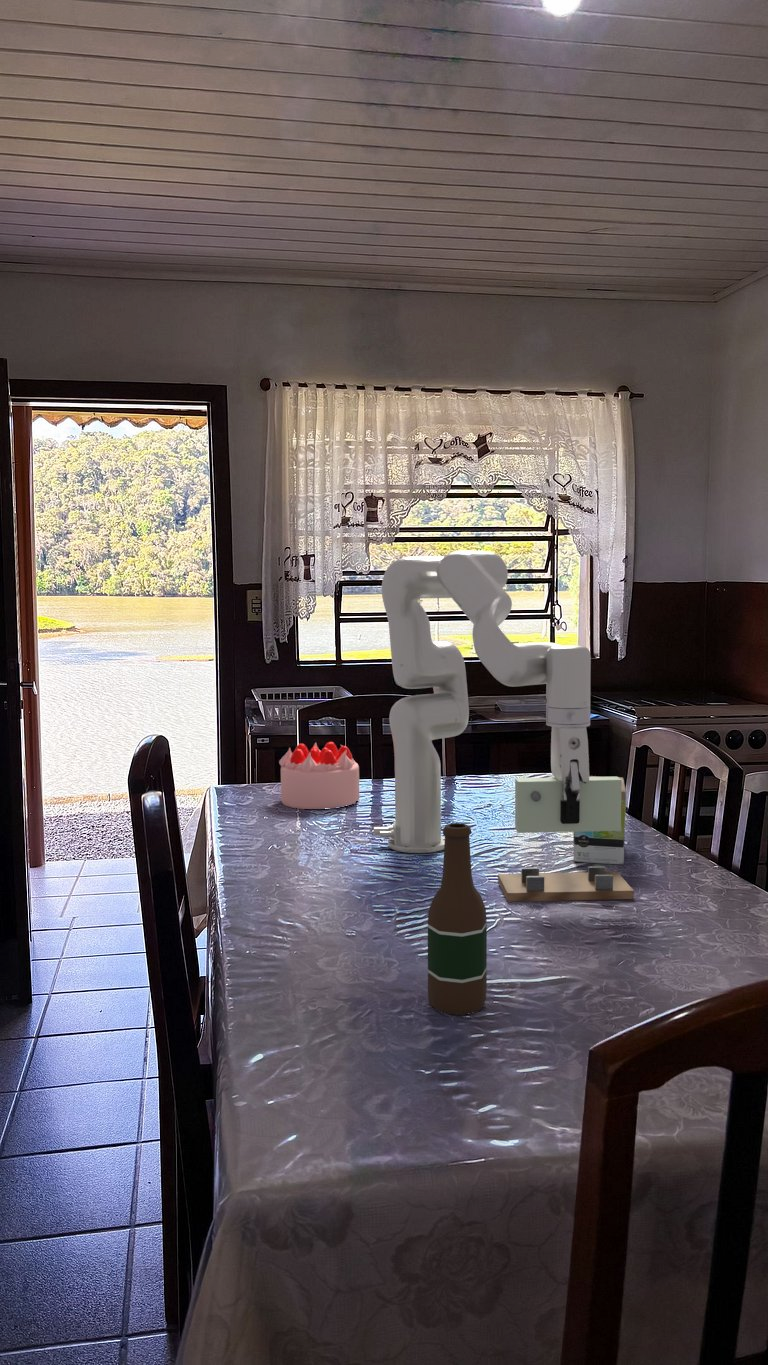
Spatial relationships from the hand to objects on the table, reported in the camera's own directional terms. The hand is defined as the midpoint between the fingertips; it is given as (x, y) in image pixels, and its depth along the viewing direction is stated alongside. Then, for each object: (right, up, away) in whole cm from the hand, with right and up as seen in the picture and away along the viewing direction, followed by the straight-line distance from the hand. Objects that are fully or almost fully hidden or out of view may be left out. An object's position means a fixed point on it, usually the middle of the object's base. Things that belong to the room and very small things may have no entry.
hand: (567, 819), depth 173 cm
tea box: (+11, -11, +27) cm, 31 cm away
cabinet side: (0, -13, +4) cm, 14 cm away
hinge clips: (0, -12, +1) cm, 12 cm away
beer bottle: (-23, -18, -43) cm, 52 cm away
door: (0, -2, 0) cm, 2 cm away
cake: (-48, -6, +76) cm, 90 cm away
